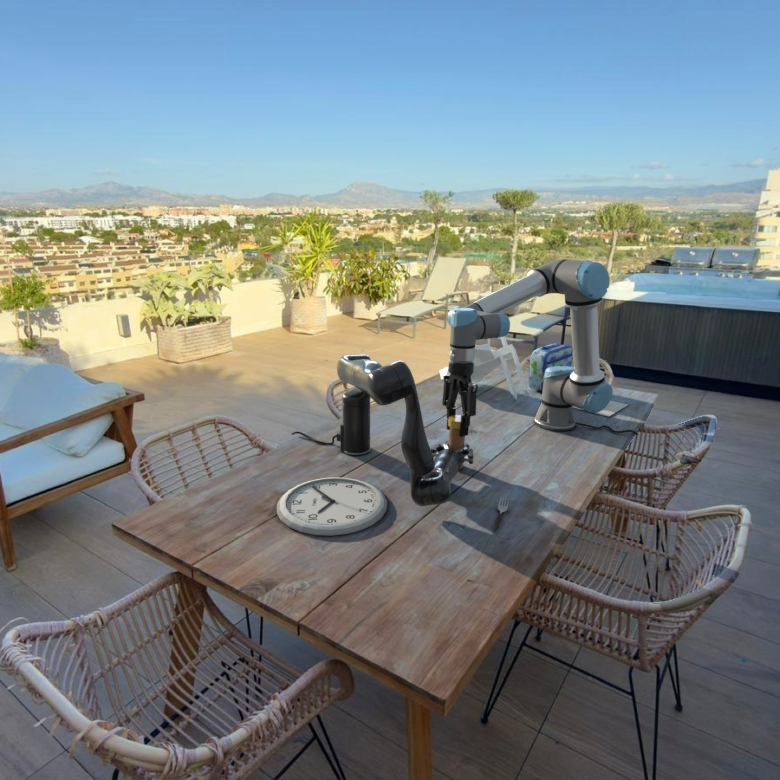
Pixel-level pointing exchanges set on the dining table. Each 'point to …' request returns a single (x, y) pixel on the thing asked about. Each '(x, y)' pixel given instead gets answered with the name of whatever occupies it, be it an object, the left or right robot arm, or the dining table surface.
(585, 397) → the right robot arm
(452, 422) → the lid
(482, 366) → the white plastic object
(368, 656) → the dining table surface
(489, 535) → the dining table surface
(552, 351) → the lunch box
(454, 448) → the jar
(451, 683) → the dining table surface
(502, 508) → the fork
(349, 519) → the wall clock
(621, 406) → the invitation card
